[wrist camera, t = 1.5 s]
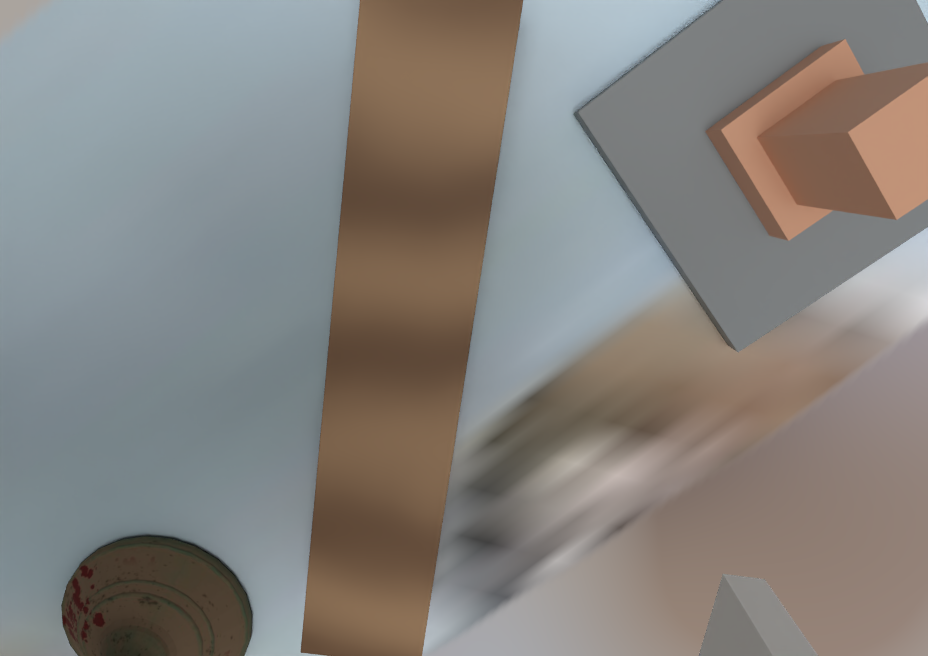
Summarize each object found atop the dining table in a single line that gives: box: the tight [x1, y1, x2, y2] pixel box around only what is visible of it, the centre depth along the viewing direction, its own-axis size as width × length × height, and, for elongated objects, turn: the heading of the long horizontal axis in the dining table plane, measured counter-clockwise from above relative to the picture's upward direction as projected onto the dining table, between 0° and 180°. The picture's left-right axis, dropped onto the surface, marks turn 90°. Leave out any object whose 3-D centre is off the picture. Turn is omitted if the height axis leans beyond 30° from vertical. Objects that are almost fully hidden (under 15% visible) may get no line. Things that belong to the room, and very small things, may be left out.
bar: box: [301, 0, 523, 656], centre depth 25 cm, size 26×5×5 cm, turn 172°
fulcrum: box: [574, 0, 928, 352], centre depth 21 cm, size 12×12×8 cm
